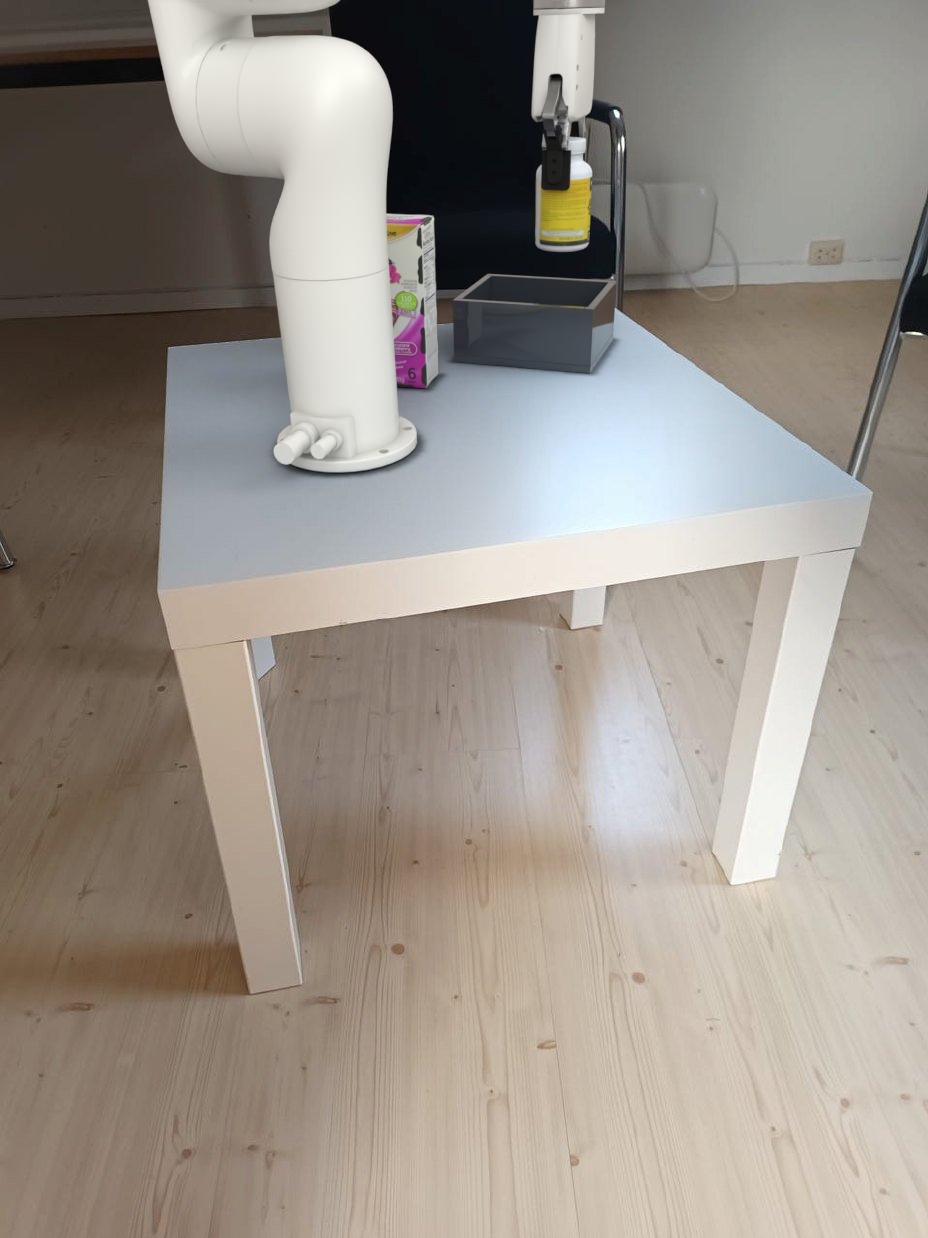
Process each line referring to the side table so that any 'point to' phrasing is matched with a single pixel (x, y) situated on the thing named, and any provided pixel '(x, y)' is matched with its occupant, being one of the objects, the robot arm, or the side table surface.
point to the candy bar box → (413, 298)
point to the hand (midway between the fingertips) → (563, 183)
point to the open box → (534, 322)
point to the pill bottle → (565, 207)
